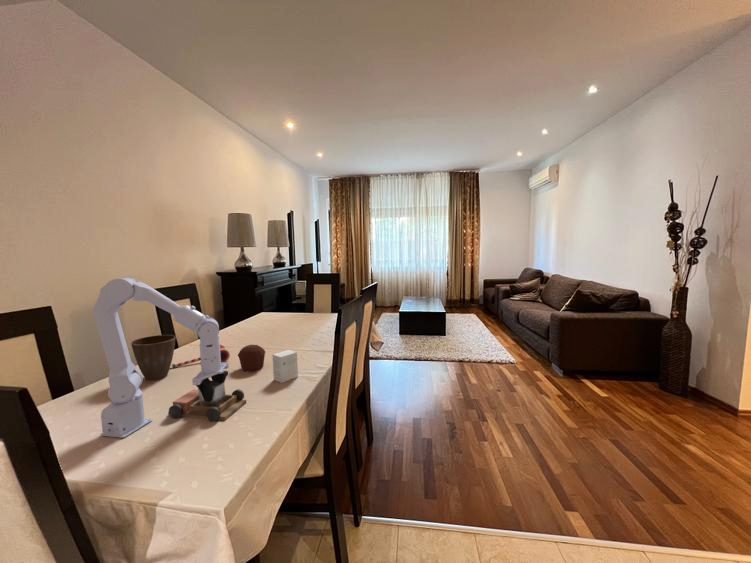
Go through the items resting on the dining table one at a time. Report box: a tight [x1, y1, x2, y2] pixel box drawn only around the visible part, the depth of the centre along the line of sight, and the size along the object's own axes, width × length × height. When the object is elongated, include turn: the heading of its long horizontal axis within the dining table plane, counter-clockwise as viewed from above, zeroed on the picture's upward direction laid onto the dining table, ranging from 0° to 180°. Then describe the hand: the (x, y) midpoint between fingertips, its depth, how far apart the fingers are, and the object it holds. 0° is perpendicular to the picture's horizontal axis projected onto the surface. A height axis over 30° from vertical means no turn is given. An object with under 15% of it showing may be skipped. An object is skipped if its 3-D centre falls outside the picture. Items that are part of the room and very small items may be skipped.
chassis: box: [167, 388, 247, 422], centre depth 104 cm, size 14×20×4 cm
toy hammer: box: [171, 343, 231, 369], centre depth 148 cm, size 23×12×6 cm, turn 127°
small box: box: [272, 349, 299, 384], centre depth 127 cm, size 8×6×10 cm
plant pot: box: [130, 334, 177, 382], centre depth 131 cm, size 15×15×16 cm
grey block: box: [197, 382, 226, 406], centre depth 103 cm, size 4×6×6 cm
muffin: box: [237, 344, 266, 373], centre depth 140 cm, size 12×11×10 cm
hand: (213, 397), depth 103 cm, fingers closed on grey block, 4 cm apart
